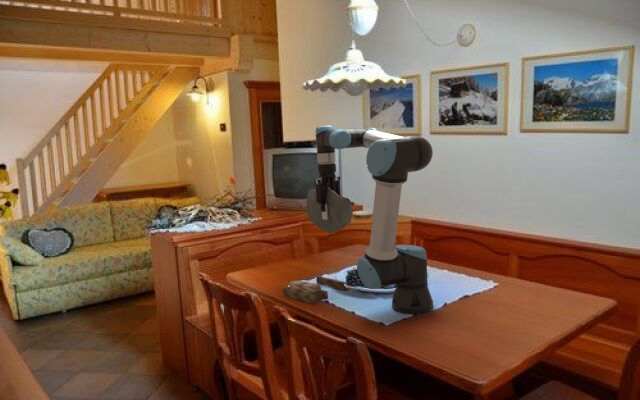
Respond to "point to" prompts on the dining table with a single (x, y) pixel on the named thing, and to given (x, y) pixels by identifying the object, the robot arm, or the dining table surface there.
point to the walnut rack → (318, 296)
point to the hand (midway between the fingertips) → (330, 217)
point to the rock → (329, 211)
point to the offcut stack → (305, 287)
